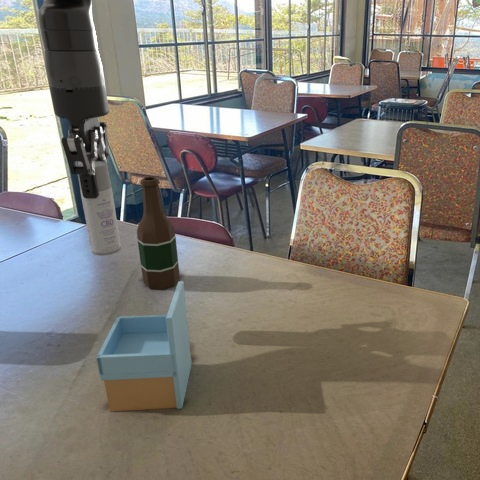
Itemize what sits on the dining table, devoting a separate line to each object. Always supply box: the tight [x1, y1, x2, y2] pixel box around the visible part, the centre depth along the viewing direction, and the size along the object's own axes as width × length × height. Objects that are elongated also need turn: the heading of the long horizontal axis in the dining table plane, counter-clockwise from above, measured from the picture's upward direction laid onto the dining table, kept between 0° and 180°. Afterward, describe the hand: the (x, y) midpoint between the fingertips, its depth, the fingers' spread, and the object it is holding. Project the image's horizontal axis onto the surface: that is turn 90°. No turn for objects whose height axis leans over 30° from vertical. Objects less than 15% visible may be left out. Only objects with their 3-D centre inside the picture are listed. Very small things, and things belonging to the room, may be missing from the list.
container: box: [77, 161, 122, 257], centre depth 79 cm, size 5×5×15 cm
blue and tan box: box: [95, 280, 193, 412], centre depth 73 cm, size 11×11×16 cm
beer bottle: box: [136, 176, 180, 291], centre depth 103 cm, size 8×8×24 cm
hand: (96, 192), depth 78 cm, fingers closed on container, 4 cm apart
